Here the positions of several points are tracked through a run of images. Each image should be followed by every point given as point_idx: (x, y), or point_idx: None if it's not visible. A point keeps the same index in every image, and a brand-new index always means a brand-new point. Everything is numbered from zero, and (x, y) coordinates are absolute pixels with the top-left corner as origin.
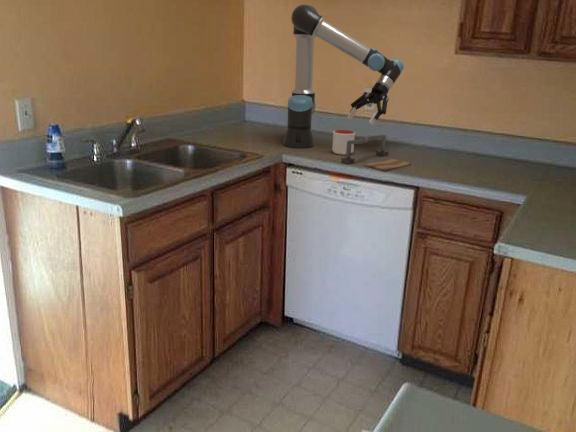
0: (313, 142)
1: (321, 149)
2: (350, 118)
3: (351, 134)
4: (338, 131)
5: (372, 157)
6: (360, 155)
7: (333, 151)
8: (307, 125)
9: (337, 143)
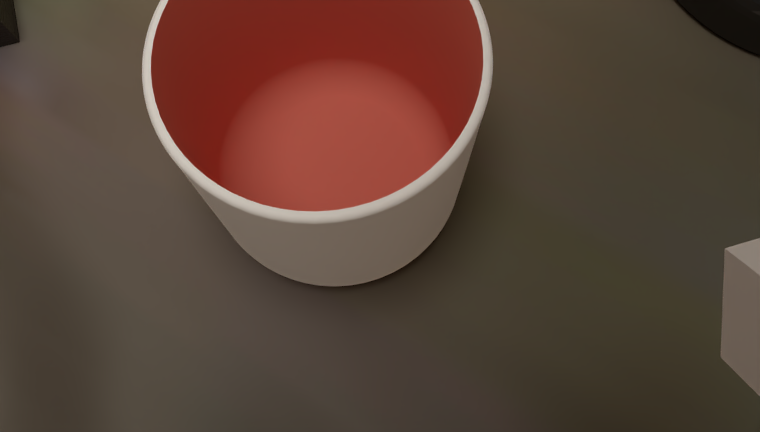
0: (727, 7)
1: (547, 43)
2: (752, 347)
3: (144, 88)
4: (479, 60)
5: (19, 386)
6: (158, 302)
7: (346, 59)
8: None
9: (272, 8)
